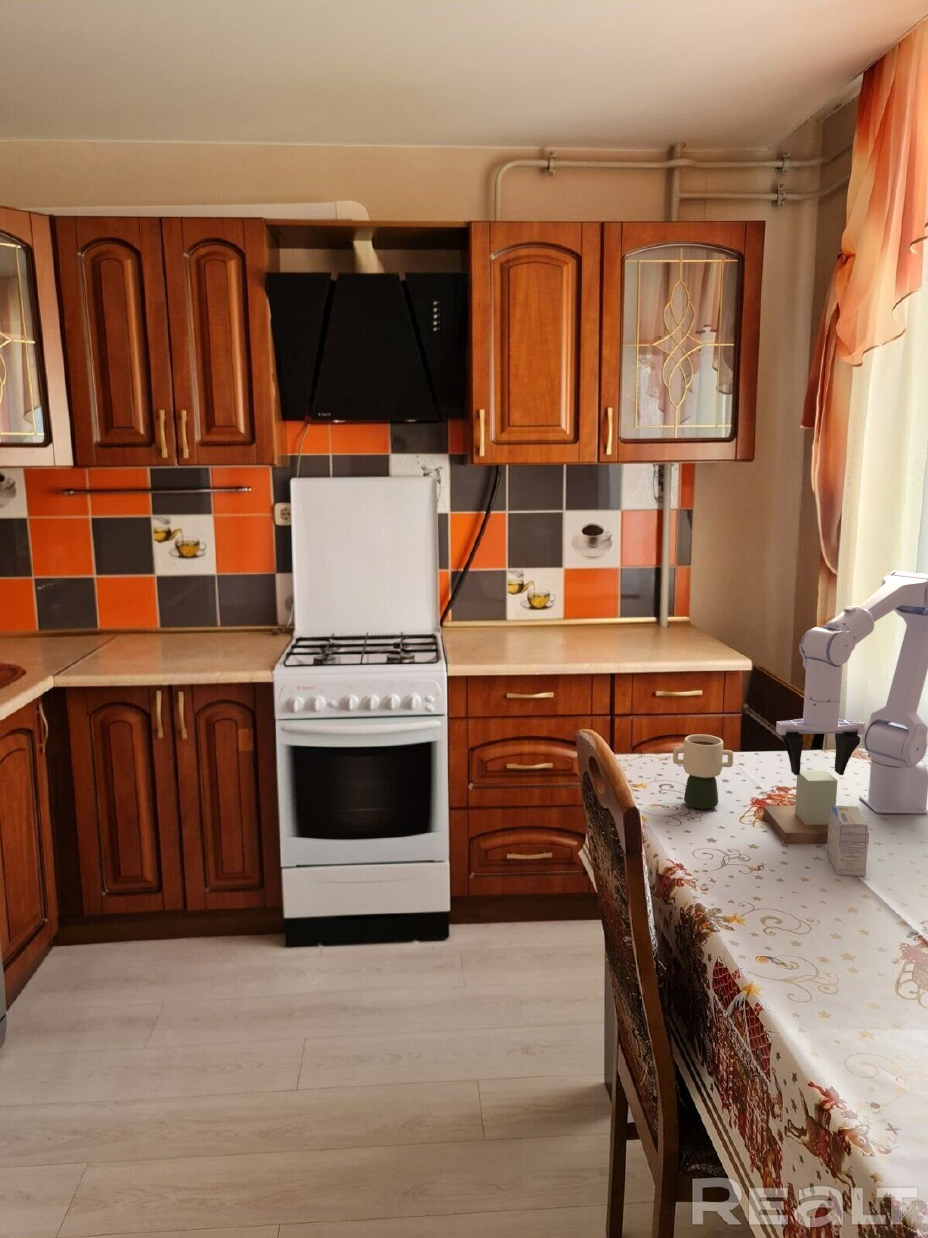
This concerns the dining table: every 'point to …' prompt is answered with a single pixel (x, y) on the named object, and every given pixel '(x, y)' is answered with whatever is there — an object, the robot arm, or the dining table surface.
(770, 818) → the walnut base
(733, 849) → the dining table surface
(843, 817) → the medicine box
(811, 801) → the sage block
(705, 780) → the beige green trophy cup
